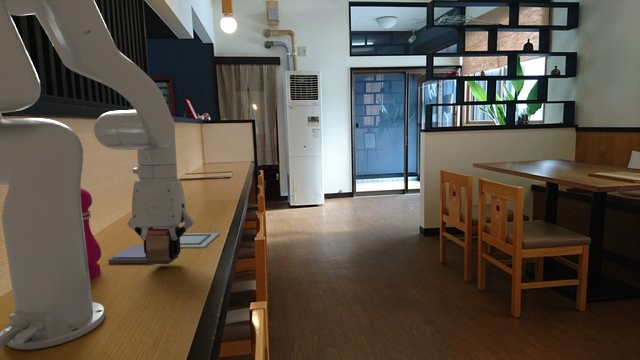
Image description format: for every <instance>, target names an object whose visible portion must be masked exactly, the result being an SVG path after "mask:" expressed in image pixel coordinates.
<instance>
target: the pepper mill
mask: <svg viewBox="0 0 640 360" xmlns="http://www.w3.org/2000/svg"><path fill="white" fill-rule="evenodd" d="M92 204H93V197H92V195H91V193H90V192H89V191H88V190H86V189H84V188H81V208H82V217H83V225H84V233H85V242H86V251H87V259H88V268H89V277H90V280H92V279H94V278H96V277H98V276H99V275H101V271H102V270H101V264H100V263H98V262H99V261H100V259H101V258H102V249H101V247H100V244H99V242H98V241H97V240H96V238H95V236H94V234H93V233H92V230H91V228H90V218H91V217H92V215H91V210H89V209H90V208H91V206H92Z"/></svg>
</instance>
